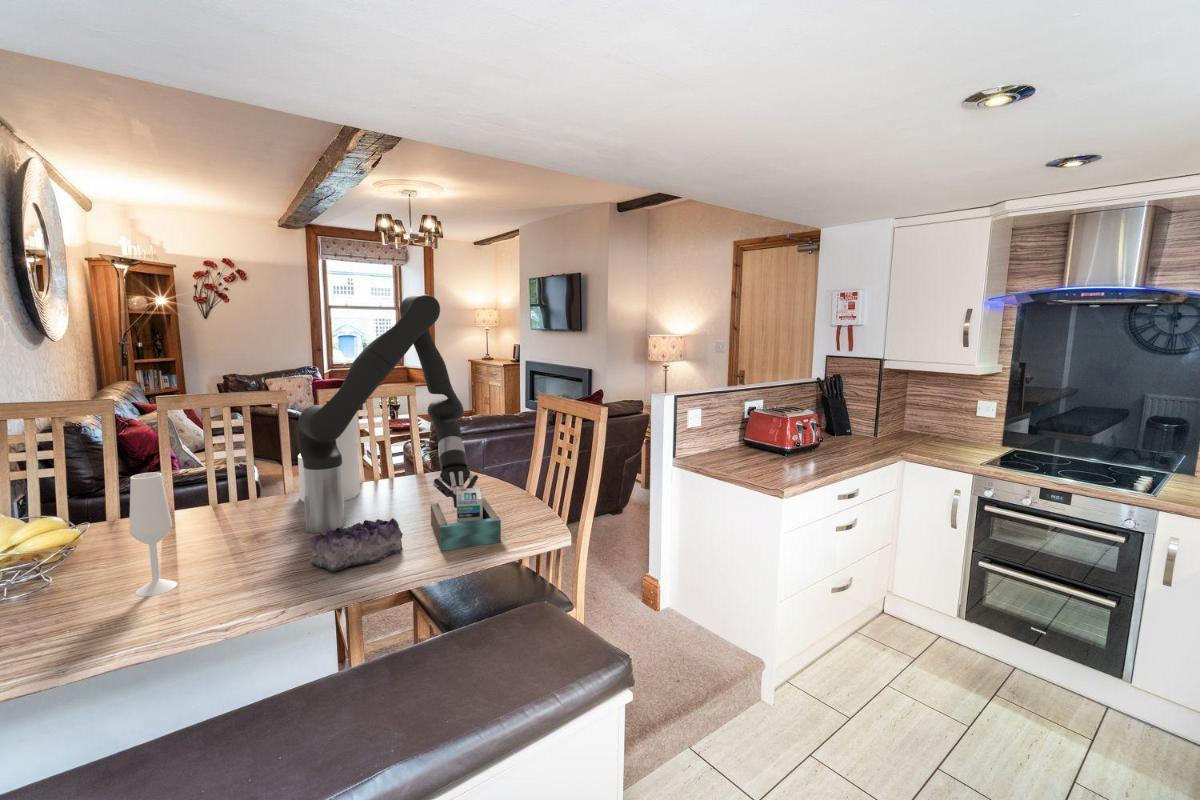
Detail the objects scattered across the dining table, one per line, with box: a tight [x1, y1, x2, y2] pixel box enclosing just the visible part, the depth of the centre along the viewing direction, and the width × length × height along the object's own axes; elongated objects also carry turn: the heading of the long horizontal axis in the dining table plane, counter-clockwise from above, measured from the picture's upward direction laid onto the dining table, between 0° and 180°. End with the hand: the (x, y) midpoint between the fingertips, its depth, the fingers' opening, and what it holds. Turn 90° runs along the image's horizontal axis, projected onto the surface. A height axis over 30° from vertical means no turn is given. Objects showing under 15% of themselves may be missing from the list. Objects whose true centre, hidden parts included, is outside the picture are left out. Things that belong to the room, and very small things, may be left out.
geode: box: [308, 517, 403, 572], centre depth 126 cm, size 20×12×10 cm, turn 134°
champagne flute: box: [128, 471, 178, 597], centre depth 108 cm, size 7×7×24 cm
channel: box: [430, 497, 502, 552], centre depth 143 cm, size 15×19×6 cm
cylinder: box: [297, 411, 361, 503], centre depth 170 cm, size 17×17×28 cm
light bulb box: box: [456, 487, 483, 523], centre depth 143 cm, size 11×7×11 cm, turn 15°
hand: (460, 508), depth 148 cm, fingers closed
